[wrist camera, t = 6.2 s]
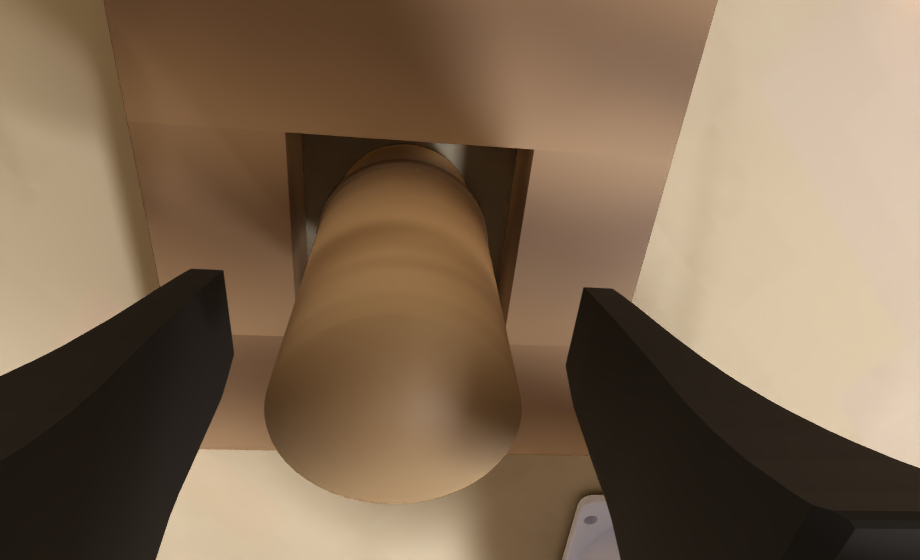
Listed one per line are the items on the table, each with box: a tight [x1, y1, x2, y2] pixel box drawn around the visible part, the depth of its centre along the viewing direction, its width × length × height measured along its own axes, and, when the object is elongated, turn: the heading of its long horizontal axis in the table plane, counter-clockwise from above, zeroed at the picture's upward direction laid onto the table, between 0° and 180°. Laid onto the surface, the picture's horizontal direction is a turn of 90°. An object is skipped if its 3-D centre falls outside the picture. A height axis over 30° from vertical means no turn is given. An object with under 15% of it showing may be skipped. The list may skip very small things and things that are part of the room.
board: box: [103, 0, 718, 456], centre depth 15 cm, size 14×12×2 cm
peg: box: [264, 144, 522, 504], centre depth 13 cm, size 4×4×8 cm
